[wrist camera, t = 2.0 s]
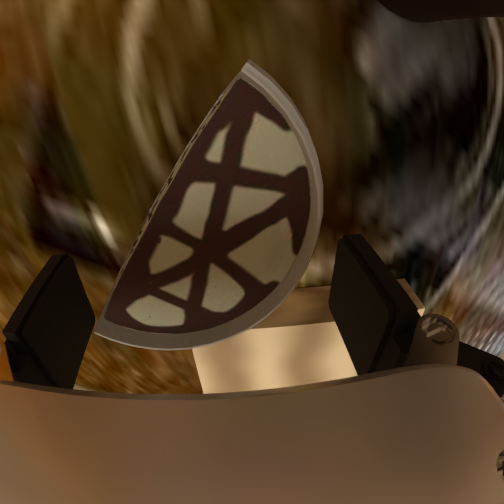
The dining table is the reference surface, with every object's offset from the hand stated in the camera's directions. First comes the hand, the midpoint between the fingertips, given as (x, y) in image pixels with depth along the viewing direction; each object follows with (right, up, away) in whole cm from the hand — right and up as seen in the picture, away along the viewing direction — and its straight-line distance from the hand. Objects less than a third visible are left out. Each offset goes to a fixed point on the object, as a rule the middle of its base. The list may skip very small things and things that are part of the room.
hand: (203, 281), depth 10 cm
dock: (+6, -9, +18) cm, 21 cm away
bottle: (+12, +19, +1) cm, 22 cm away
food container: (0, +6, +9) cm, 10 cm away
